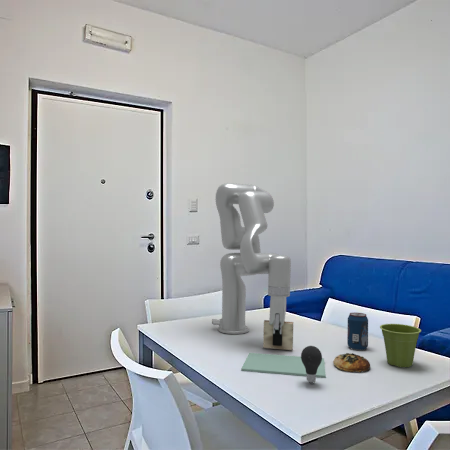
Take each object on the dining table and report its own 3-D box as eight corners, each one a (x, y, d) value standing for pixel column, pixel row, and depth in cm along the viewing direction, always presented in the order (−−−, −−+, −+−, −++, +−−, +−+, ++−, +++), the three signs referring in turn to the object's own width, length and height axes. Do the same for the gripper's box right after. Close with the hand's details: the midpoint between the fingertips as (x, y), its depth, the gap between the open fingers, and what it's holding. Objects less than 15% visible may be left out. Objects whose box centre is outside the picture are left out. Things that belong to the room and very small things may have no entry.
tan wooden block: (263, 347, 142) (263, 321, 142) (263, 345, 144) (264, 320, 144) (292, 350, 140) (293, 323, 140) (292, 348, 142) (293, 322, 142)
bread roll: (378, 369, 123) (376, 352, 123) (352, 380, 117) (350, 363, 117) (350, 360, 133) (348, 344, 133) (325, 370, 127) (323, 354, 127)
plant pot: (371, 360, 131) (371, 325, 132) (400, 356, 136) (400, 322, 136) (399, 372, 120) (399, 334, 120) (429, 368, 125) (430, 331, 125)
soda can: (350, 344, 150) (350, 311, 150) (369, 347, 146) (370, 313, 146) (345, 348, 144) (345, 314, 144) (365, 352, 140) (365, 317, 140)
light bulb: (298, 379, 114) (298, 343, 114) (318, 379, 114) (318, 343, 114) (303, 387, 108) (304, 349, 108) (324, 386, 108) (325, 348, 109)
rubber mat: (241, 370, 120) (241, 368, 120) (249, 354, 136) (249, 352, 136) (325, 377, 115) (325, 375, 115) (324, 360, 131) (324, 358, 131)
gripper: (270, 287, 151) (269, 337, 151) (265, 294, 135) (264, 350, 135) (291, 288, 149) (289, 338, 149) (288, 295, 133) (287, 352, 134)
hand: (277, 343), depth 142 cm, fingers closed on tan wooden block, 2 cm apart
